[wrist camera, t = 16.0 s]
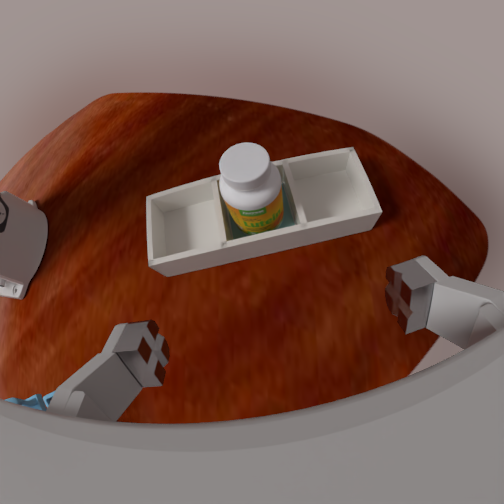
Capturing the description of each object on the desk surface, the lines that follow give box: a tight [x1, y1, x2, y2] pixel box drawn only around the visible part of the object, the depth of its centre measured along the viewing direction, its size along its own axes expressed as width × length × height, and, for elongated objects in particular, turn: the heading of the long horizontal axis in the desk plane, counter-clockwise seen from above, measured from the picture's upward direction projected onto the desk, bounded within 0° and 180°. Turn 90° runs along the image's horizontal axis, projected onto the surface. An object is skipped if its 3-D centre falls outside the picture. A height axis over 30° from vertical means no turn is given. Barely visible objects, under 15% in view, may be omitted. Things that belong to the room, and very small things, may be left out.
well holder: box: [146, 147, 382, 277], centre depth 28 cm, size 23×8×4 cm, turn 101°
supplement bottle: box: [219, 143, 284, 236], centre depth 25 cm, size 5×5×10 cm
